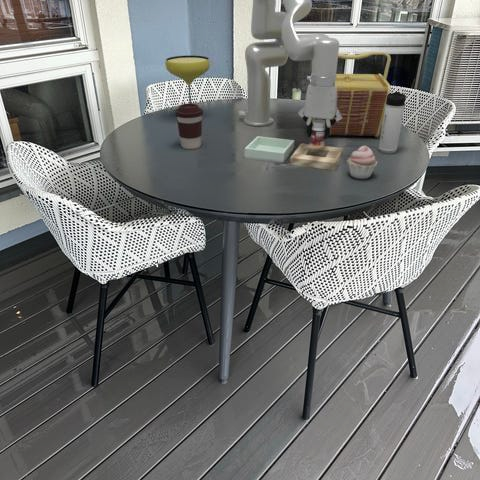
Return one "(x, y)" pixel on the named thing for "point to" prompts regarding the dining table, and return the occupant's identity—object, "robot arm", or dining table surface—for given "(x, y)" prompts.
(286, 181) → the dining table surface
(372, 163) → the cupcake
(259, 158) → the tray
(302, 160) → the socket block
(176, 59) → the cocktail glass
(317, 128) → the pill bottle
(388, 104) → the travel mug
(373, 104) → the picnic basket
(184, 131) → the coffee cup
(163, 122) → the dining table surface
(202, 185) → the dining table surface
